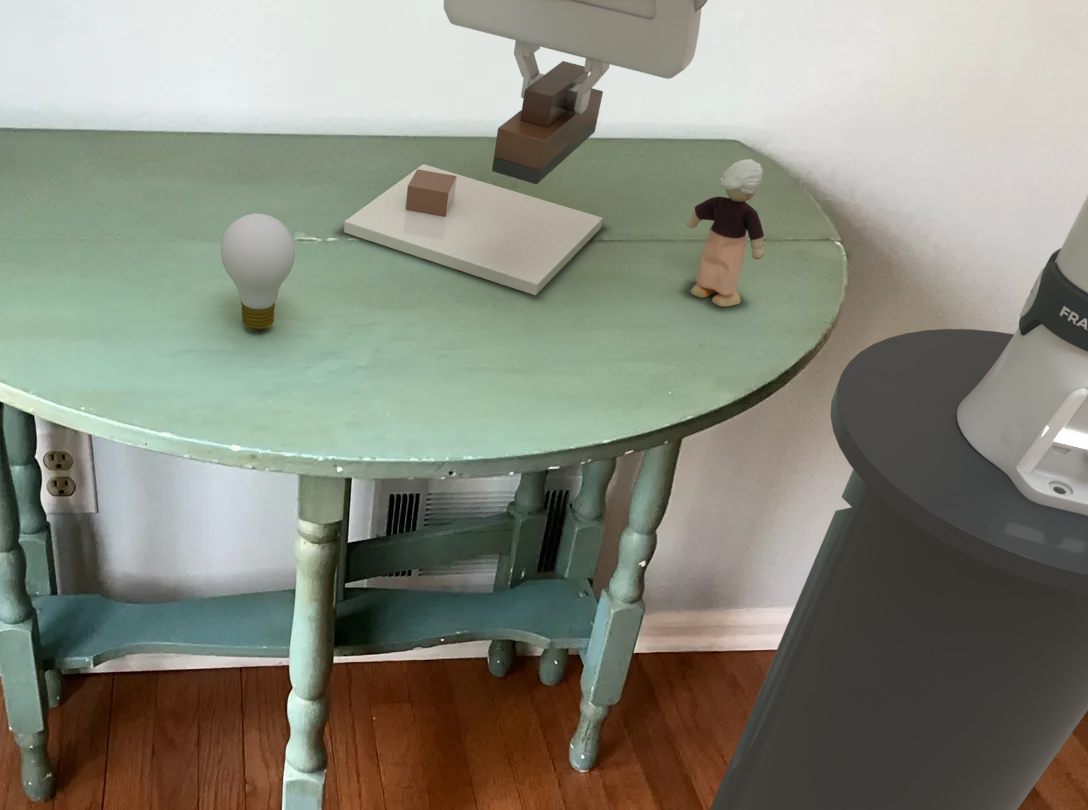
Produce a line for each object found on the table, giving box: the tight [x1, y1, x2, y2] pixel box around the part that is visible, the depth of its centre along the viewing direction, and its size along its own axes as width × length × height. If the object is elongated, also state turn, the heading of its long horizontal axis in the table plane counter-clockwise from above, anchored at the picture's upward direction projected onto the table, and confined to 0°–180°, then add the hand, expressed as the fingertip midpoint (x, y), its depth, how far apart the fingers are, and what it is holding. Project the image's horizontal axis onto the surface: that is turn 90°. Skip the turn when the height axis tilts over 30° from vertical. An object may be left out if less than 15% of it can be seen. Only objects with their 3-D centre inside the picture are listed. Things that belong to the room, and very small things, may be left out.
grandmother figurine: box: [685, 158, 765, 308], centre depth 104 cm, size 8×4×13 cm, turn 57°
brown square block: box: [406, 168, 457, 217], centre depth 115 cm, size 4×4×2 cm
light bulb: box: [220, 213, 296, 332], centre depth 96 cm, size 6×6×10 cm
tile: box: [343, 163, 604, 296], centre depth 115 cm, size 20×16×1 cm
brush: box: [491, 60, 604, 185], centre depth 98 cm, size 13×4×6 cm, turn 151°
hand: (553, 104), depth 97 cm, fingers closed on brush, 2 cm apart
